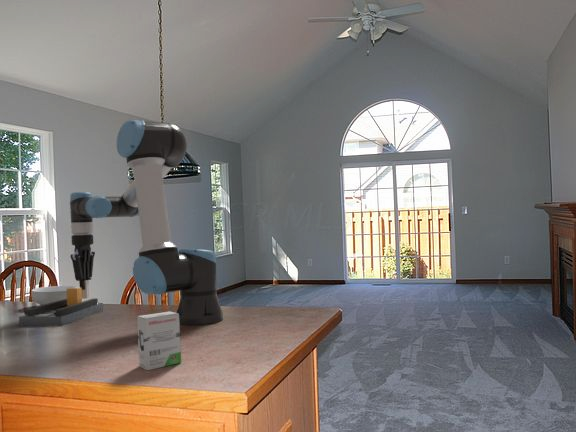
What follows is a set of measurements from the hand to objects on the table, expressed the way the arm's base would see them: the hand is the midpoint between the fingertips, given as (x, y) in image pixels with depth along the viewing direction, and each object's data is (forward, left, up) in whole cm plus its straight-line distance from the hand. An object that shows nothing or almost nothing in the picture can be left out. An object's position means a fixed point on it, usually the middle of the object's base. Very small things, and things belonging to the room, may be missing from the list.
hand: (84, 298), depth 203 cm
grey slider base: (0, +14, -5) cm, 14 cm away
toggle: (0, +7, -1) cm, 7 cm away
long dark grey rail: (-5, +14, -2) cm, 15 cm away
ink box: (-58, +67, -5) cm, 89 cm away
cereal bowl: (+18, -9, -5) cm, 21 cm away
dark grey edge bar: (+5, +14, -2) cm, 15 cm away
